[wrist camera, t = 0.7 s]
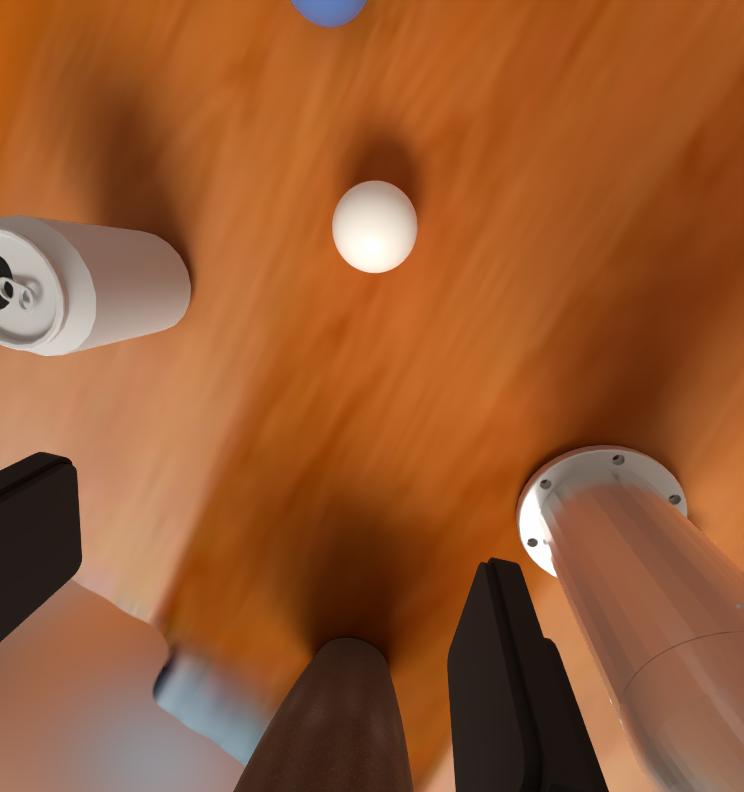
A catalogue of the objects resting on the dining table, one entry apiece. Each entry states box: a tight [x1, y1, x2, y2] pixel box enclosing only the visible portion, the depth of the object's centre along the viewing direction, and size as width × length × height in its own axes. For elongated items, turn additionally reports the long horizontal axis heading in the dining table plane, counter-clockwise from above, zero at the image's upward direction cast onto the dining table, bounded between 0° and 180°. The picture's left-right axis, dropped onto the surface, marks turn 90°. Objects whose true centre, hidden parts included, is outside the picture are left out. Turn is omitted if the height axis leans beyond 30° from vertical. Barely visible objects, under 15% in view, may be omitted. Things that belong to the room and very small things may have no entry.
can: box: [0, 215, 191, 356], centre depth 26 cm, size 8×8×12 cm
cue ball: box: [332, 181, 418, 273], centre depth 26 cm, size 6×6×6 cm
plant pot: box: [233, 638, 413, 792], centre depth 34 cm, size 15×15×16 cm
